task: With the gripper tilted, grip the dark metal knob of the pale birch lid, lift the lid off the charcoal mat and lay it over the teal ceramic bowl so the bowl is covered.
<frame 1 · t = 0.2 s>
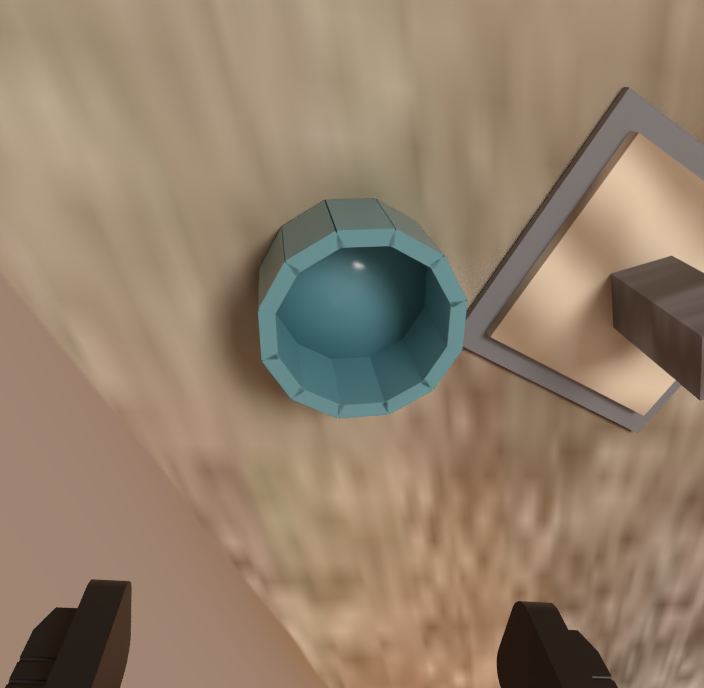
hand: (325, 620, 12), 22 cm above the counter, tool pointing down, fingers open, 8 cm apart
lid: (634, 287, 35), resting on mat
mat: (629, 284, 35), on the counter
bowl: (350, 287, 33), on the counter
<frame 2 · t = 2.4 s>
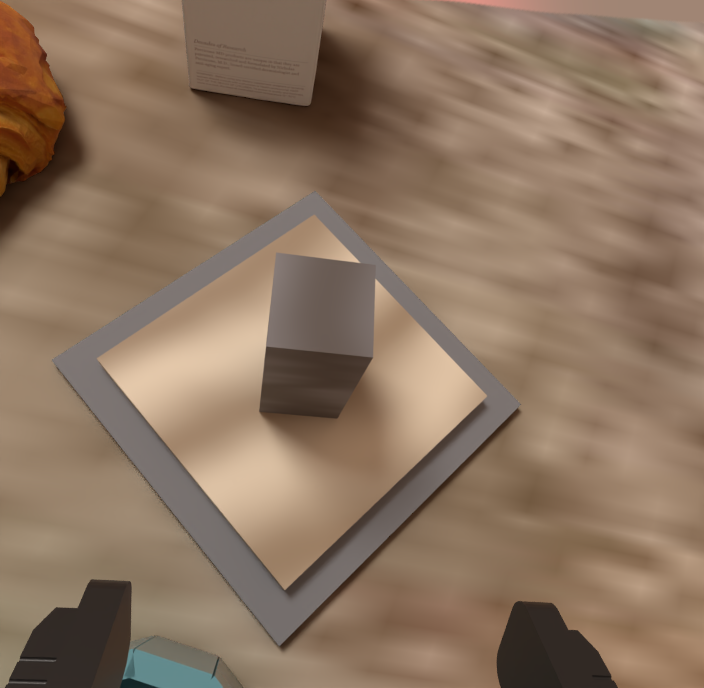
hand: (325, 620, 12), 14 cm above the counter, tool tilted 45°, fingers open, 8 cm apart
supplement box: (256, 57, 37), on the counter
lid: (299, 383, 28), resting on mat
mat: (298, 386, 29), on the counter
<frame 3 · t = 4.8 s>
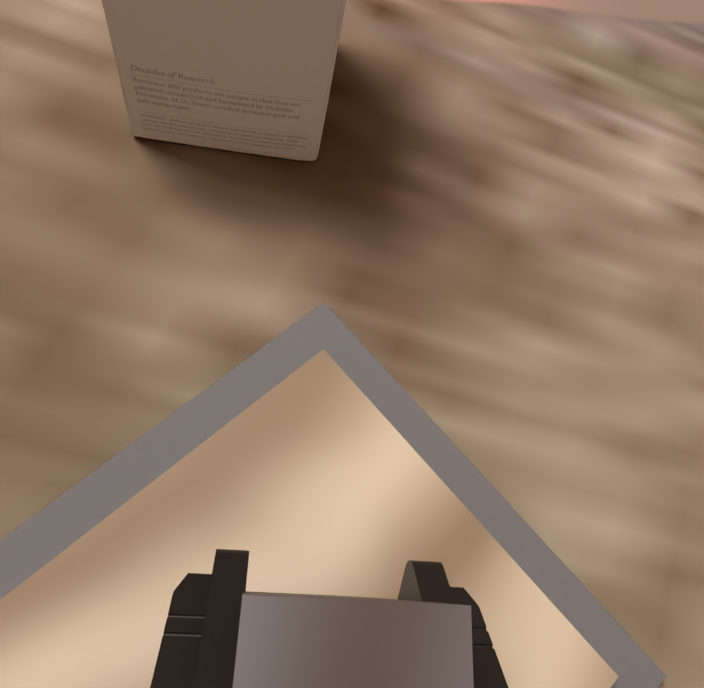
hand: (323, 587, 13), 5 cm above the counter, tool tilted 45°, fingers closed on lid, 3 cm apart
supplement box: (236, 87, 25), on the counter
lid: (299, 663, 16), resting on mat, touching gripper
mat: (296, 662, 17), on the counter
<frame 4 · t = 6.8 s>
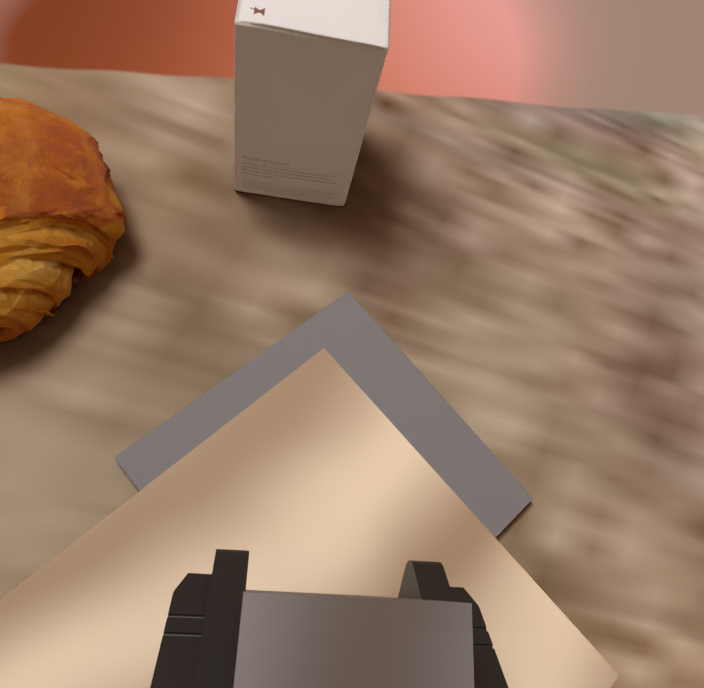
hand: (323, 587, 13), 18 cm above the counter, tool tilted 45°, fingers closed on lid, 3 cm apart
supplement box: (294, 158, 40), on the counter
lid: (299, 662, 16), point 13 cm above the counter, touching gripper
mat: (332, 480, 32), on the counter
when the fingers open (11 cm above the counter, at t = 9.2 s): lid drops 1 cm, resting on bowl.
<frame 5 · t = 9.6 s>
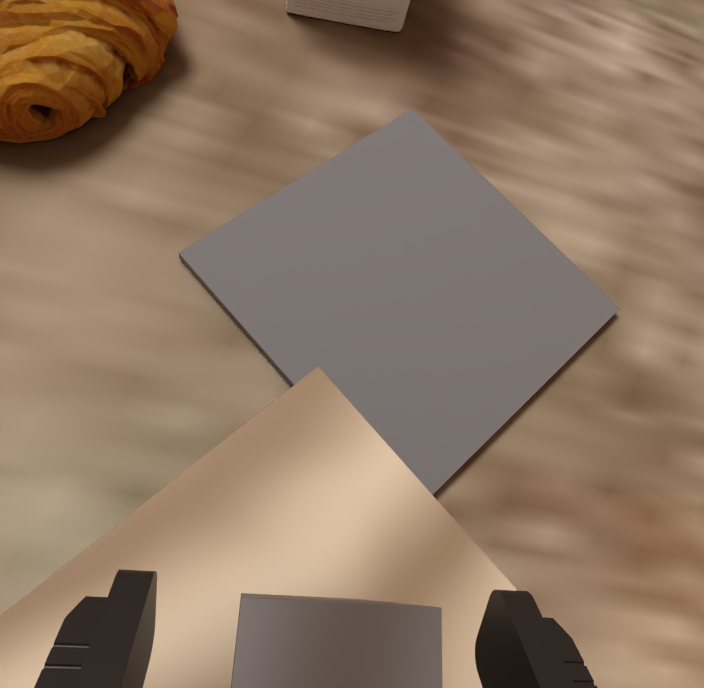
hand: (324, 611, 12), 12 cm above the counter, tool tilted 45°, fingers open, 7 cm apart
lid: (294, 660, 18), point 5 cm above the counter, touching bowl
mat: (408, 286, 30), on the counter
croissant: (37, 43, 32), on the counter
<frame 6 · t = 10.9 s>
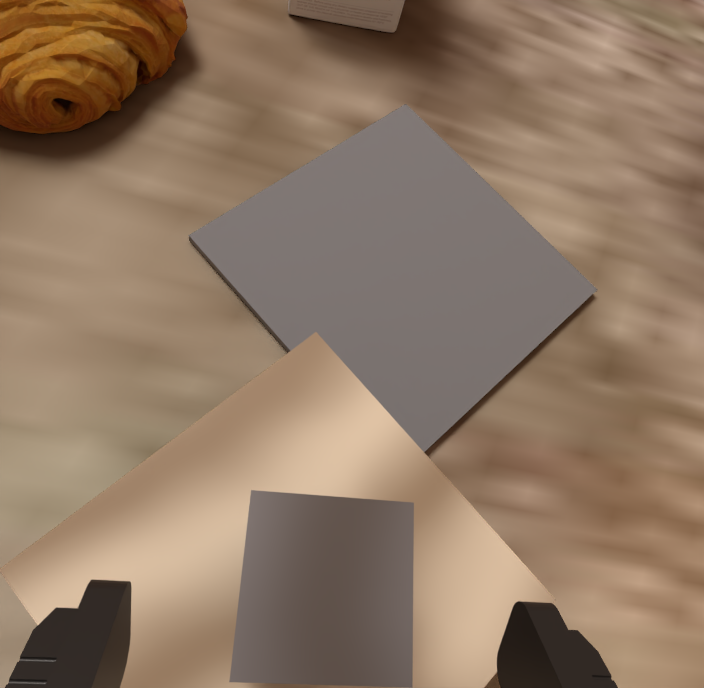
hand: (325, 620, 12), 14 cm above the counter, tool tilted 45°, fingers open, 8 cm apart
lid: (293, 585, 20), point 5 cm above the counter, touching bowl
mat: (400, 268, 32), on the counter
croissant: (57, 42, 35), on the counter
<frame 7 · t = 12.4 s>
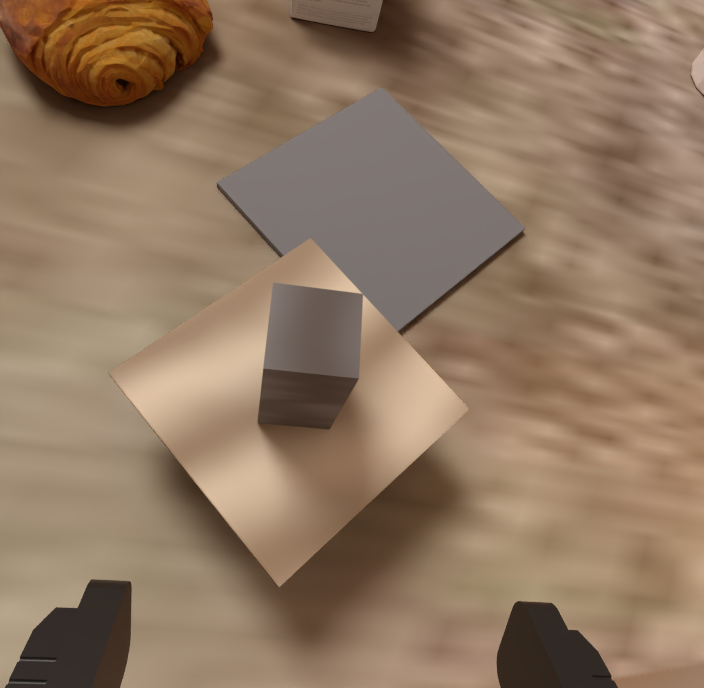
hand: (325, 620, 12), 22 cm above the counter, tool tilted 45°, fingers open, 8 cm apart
lid: (295, 396, 31), point 5 cm above the counter, touching bowl
mat: (375, 209, 43), on the counter
croissant: (112, 38, 45), on the counter
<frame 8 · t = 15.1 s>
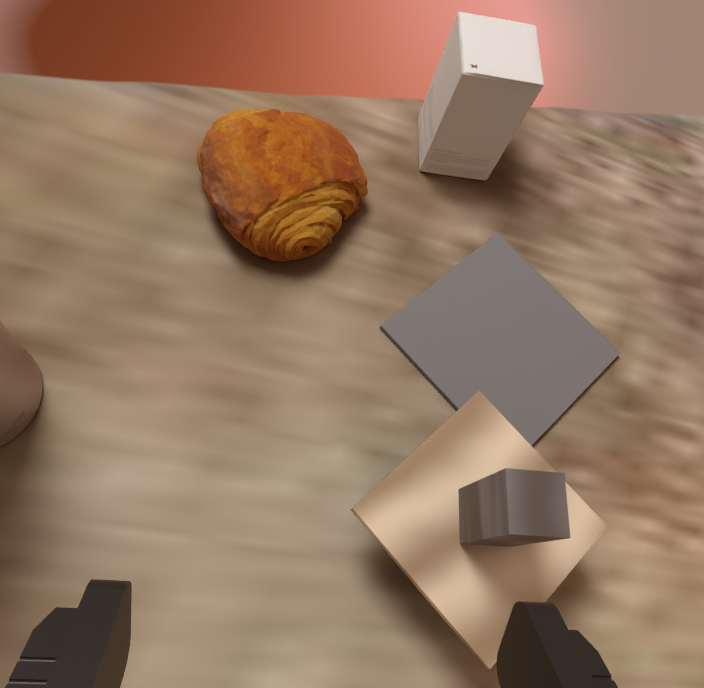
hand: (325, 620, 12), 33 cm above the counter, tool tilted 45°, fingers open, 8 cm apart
supplement box: (451, 150, 61), on the counter
lid: (479, 518, 41), point 5 cm above the counter, touching bowl
mat: (502, 341, 53), on the counter
croissant: (282, 196, 56), on the counter
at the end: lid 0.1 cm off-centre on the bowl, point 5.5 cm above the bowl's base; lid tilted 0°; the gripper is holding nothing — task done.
